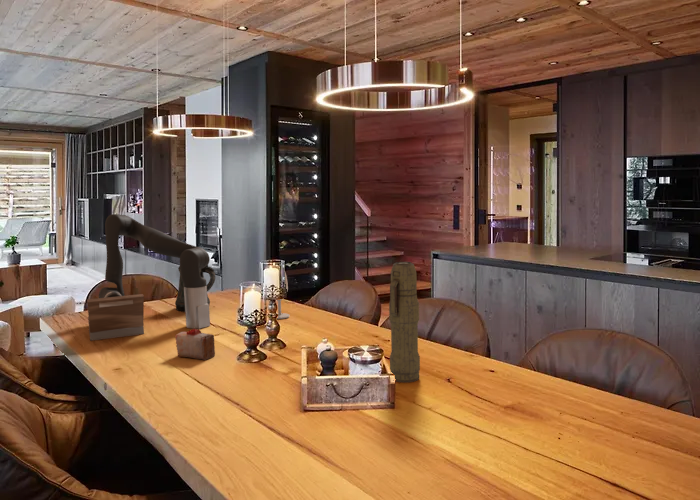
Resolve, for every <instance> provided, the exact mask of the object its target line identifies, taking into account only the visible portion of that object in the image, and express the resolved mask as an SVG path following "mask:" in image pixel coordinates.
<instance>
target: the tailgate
mask: <svg viewBox="0 0 700 500" xmlns="http://www.w3.org/2000/svg"><path fill="white" fill-rule="evenodd" d="M144 299H145V296H144V294H143V293H140V294H130V295H125V296H117V297H107V298H99V297H98V298H87V302H86V303H87V312H88V313H87V314H88V317H89V322H88V331H89V330H90V333H91V332H99V331H108V330H116V329H125V328H133V327H141V326H143V327H144V316H145V315H144V312H145V311H144V310H145V309H144V308H145V305H144V304H145V303H144V302H145V300H144Z"/></svg>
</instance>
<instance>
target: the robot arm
mask: <svg viewBox="0 0 700 500" xmlns="http://www.w3.org/2000/svg"><path fill="white" fill-rule="evenodd" d="M104 225H105V227H104V231H105V232H104V233H105V245H106V246H105V247H106V265H105V266H106V267H105V275H104V279H105V282H109V283H112V284H114V285H116V287H112V286H111V287H108V286H104V287H102V288H101V289H100V290H99V292H98V298H107V297H117V296H126V295H125V289H124V286H123V285H124V284H123V273H124V261H123V257H122V253H121V251H120V246H119V241H120V239H119V238H120V236H123V237H124V236H125V237H128V238H132V239H135V240H136V241H138V242H140V244H141V245H142V246H143V247H144V248H145V249H147V250H149V251H151V252H154V253H155V254H157V255H162V256H166V257H167V256H168V257H173V258H178V259H179V266H180V269H181V278H182V281H183V283H184V296H185V312H184V313H185V327H186V328H187V329H198V328H199V330H200V329H204V328H206V327H210V326H211V318H210V316H211V315H210V314H211V313H210V305H209V304H207V295H208V292H207V279H206V278H205V277H204V278H202V277H201V276H200V273H199V269H202V268H204V267H206V266H207V265H208V266H209V263H210V261H211V260H210V255H209V253H208V252H207V251H206V250H205V249H204V248H202V247H199V246H195V245H192V244H189V243H187V242H184V241H181V240H179V239H178V238H176V237H173V236H171V235H169V234H167V233H165V232H163V231H162V230H161V231H160V230H158V229H155V228H153V227H150V226H148V225H144V224H142V223H140V222H139V221H137V220H135V218H132V217H130V216H129V215H127V214H126V215H125V214H117V213H116V214H115V213H112V214H110V215H108V216H107V218H106V219H105V223H104Z"/></svg>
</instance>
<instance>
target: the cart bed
mask: <svg viewBox="0 0 700 500" xmlns="http://www.w3.org/2000/svg"><path fill="white" fill-rule="evenodd" d="M87 318H88V319H87V321H88V323H89V316H88V317H87ZM144 329H145V328H144V326H141V327H133V328H125V329H116V330H108V331H99V332H91V333H90V330H89V329H88V333H89V340H90V341H98V340H107V339H114V338H115V339H116V338H121V337H130V336H131V337H132V336H137V335H139V334H140V335H145V330H144Z"/></svg>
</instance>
